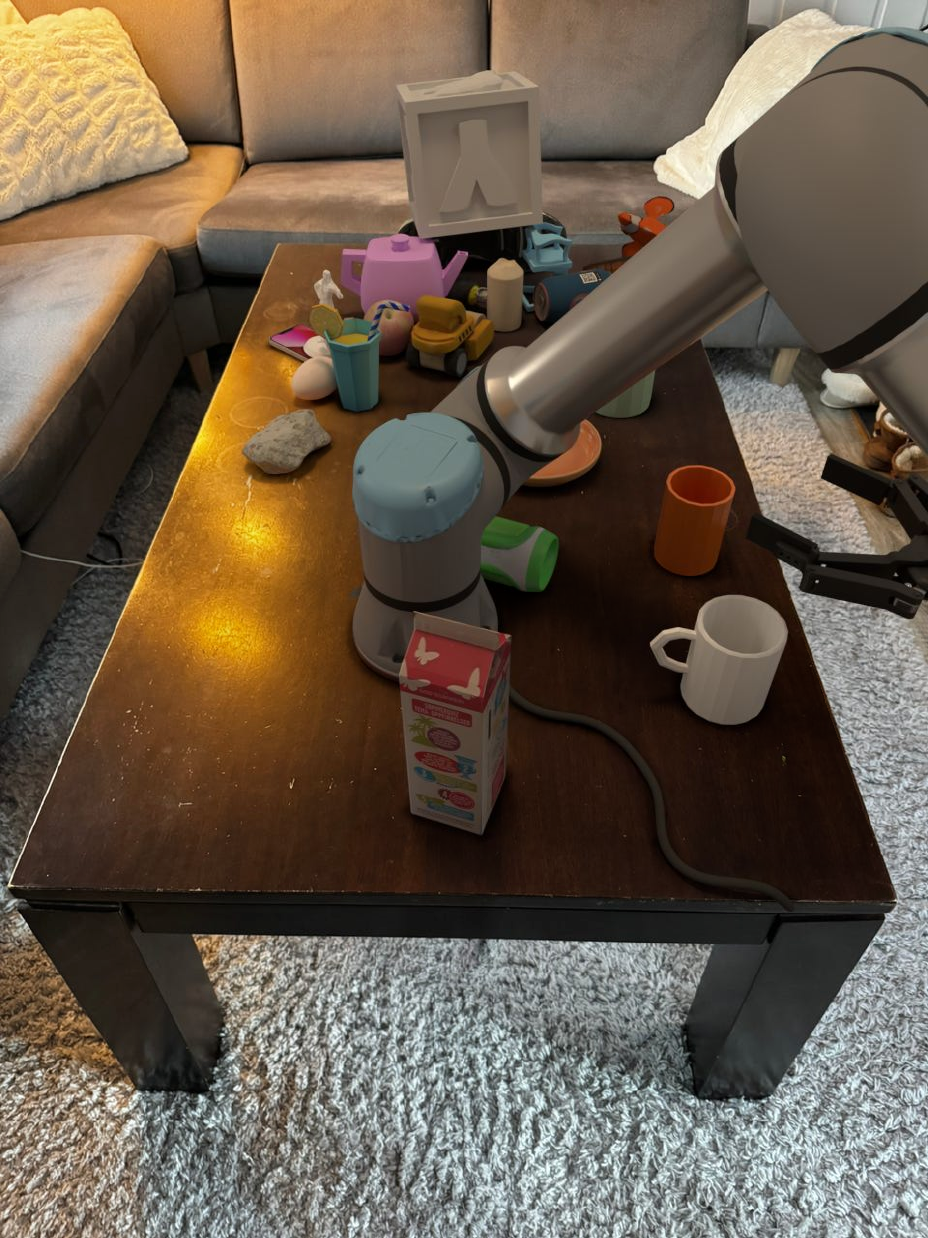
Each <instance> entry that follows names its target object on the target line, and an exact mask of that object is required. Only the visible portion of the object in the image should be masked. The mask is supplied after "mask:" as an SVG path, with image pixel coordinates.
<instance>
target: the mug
mask: <svg viewBox="0 0 928 1238" xmlns="http://www.w3.org/2000/svg"><path fill="white" fill-rule="evenodd" d="M696 618H697V619H696V621H695V626H694V629H689V628H683V627H679V626H678V627H672V628H668V629H664V630H662V631H661V632H659V634H658V635H656V636H655V637H654V638H653V639H652V640H651V641H650V642H649V646H650V648H651V651H652V653H653V655H654V658H655V659H656V661H657V663H658V665H659V666H661V667H664V668H665V669H668V670H670V671H673V672H675V673H682V678H681V682H680V685H679V687H680V693H681V697H682V698H683V700H684V702H685V704H686V706H687V707H688V708H689V709H690V710H691V711H692V712H694V714H695V715H697V716H699V717H700V718H703V719H704V720H706V721H708V722H711V723H714V724H718V725H728V726H729V725H730V726H731V725H732V726H735V725H739V724H740V725H741V724H744V723H747V722H749V721H750V720H752V719H754V718H755V717H757V716H758V715H759V714H760V712H761V711H762V709H763V708H764V705H765V702H766V699H767V698H768V694H769V691H770V688H771V686H772V682H773V680H774V678H775V675H776V672H777V669H778V666H779V664H780V661H781V658H782V655H783V652H784V650H785V646H786V644H787V640H788V634H789V629H788V628H787V623H786V620H785V619H784V618H783V616H782V615H781V614H780V613H779V612H778V611H777V610H776V609H775V608H774V607H772V606H771V605H770V604H768V603H767V602H764V601H762V600H760V599H758V598H756V597H752V596H747V595H742V594H726V595H721V596H717V597H714V598H712V599H710V600H708V601H706V602H705V603H704V604H703V605H702V606H701V607H700V609H699V610H698V613H697V617H696ZM679 639H681V640H682V639H684V640H685V639H686V640H689V641H690V645H689V649H688V654H687V658H686V660H685V662H681V661H677V660H675V659H673V658H670V657H669V656H667V654H666V651H665V650H664V647H665V646H666V644H668V643H669V642H670V641H675V640H679Z"/></svg>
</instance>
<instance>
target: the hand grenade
mask: <svg viewBox="0 0 928 1238" xmlns="http://www.w3.org/2000/svg"><path fill="white" fill-rule="evenodd" d="M445 298H447V299H452V300H456V301H459V302H461V303H462V304H463V306H464V308H465V309H472V308H474V307H475V306H477V307H480V308H484V309H486V310H487V287H483V286H482V287H480V286H479V284H478V283H477V282H476V281H474V280H472V279H470V278H466V277H461V276H460V277H459V276H457V278H456V280H455V282H454V284H453V285H452V287H451V289H450V291H449V293H448V295H447V296H445Z"/></svg>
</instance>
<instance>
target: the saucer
mask: <svg viewBox="0 0 928 1238" xmlns="http://www.w3.org/2000/svg"><path fill="white" fill-rule="evenodd" d="M602 446H603V445H602V439H601V435H600V433H599V431H598V429H597V428H596V427H595V426H594V425H593V424H592V422H590V421H589V420H588V419H587V418H586V419H585V420H584V421H582V422H581V428H580V433H579V436H578V439H577V441H576V443H575V444H574V445H573V447H572V448H571V449H569V450H568V451H567V452H565V453H564V454H562V455H561V456H560V457H558V458H557V459H555V460H554V461H552V462H551V463H549V464H548V465H546V466H545V467H544V468H542V469H541V470H539V471H538V472H536V473H535V474H534V475H532V476H531V477H530V478H529V479H527V480H526V481H525V482H524V483H523V484H522V485H521V486H525V487H531V488H532V487H533V488H549V487H550V488H551V487H556V486H560V485H564V484H566V483H569V482H572V481H574V480H577V479H578V478H580V477H582V476H583V475H585V474H586V473H588V472H589V471H590V470H591V469H593V467H594V466H595V465H596V464H597V462H598V460H599V458H600V455H601V452H602Z"/></svg>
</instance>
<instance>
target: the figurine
mask: <svg viewBox="0 0 928 1238" xmlns="http://www.w3.org/2000/svg"><path fill="white" fill-rule="evenodd" d="M313 287H314V288H313V289H314V292H315V293H316V295H317V297H318V299H319V302H318V303H319V304H323V303H325V304H327V305H329V306H331V307H332V308H335V305H334V301H333V295H335V296H336V297H337V298H338V300H343V299H344V295H343V293H342V292H341V289H340V288H339V287H338V286H337V285H336V283H335V282H334V281H333V279H332V275H331V271H330V270H328V269H324V270H323V272H322V278H320V279H319V280H317V281H316V282H315V283H314V285H313ZM319 304H318V305H319ZM303 348H304V351H305V353H306V354H308V355H309V356H311V357H313V358H314V357H318V356H324V357H328V358H331V353H330V352H329V350H328V349H327V347H326V344H325V341H324V339H323V338H322V337H321V336H315V337H312V338H310V339H309V340H308V341H307V342H306V344H305V345H304V347H303ZM331 359H332V358H331Z"/></svg>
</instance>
